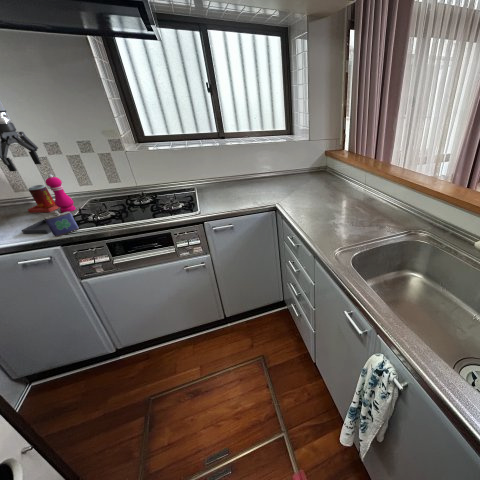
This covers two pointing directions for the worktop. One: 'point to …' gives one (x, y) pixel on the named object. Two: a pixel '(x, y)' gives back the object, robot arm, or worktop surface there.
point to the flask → (61, 223)
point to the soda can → (42, 196)
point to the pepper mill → (60, 194)
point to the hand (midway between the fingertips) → (26, 167)
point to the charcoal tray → (37, 228)
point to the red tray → (37, 209)
